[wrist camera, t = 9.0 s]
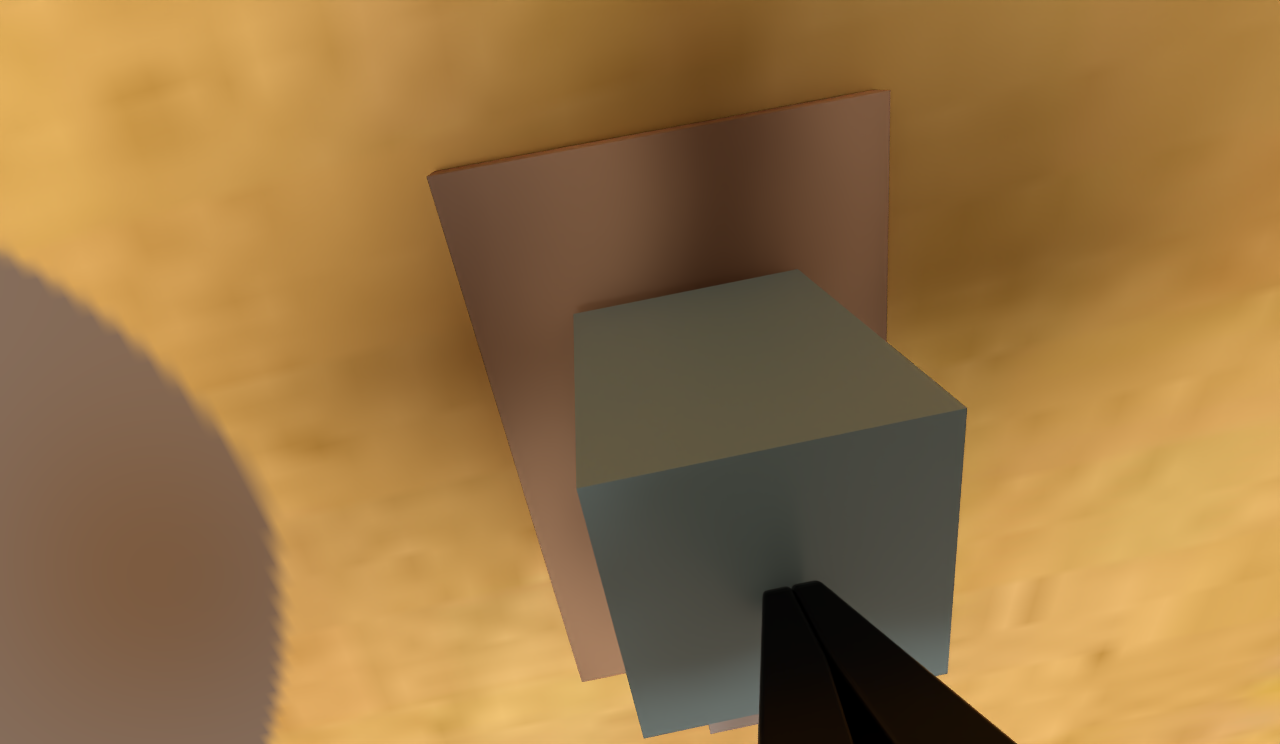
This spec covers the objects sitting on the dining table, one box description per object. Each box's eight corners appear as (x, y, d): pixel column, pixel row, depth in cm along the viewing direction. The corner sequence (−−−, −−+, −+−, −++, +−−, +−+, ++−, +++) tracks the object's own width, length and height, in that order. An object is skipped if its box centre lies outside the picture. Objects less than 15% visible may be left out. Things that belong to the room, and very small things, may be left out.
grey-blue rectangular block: (797, 269, 14) (966, 408, 8) (808, 457, 16) (947, 673, 10) (573, 313, 14) (576, 488, 8) (616, 496, 16) (644, 738, 10)
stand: (873, 89, 14) (1158, 97, 7) (871, 601, 21) (1013, 846, 14) (434, 171, 14) (304, 257, 7) (581, 661, 21) (587, 937, 14)
